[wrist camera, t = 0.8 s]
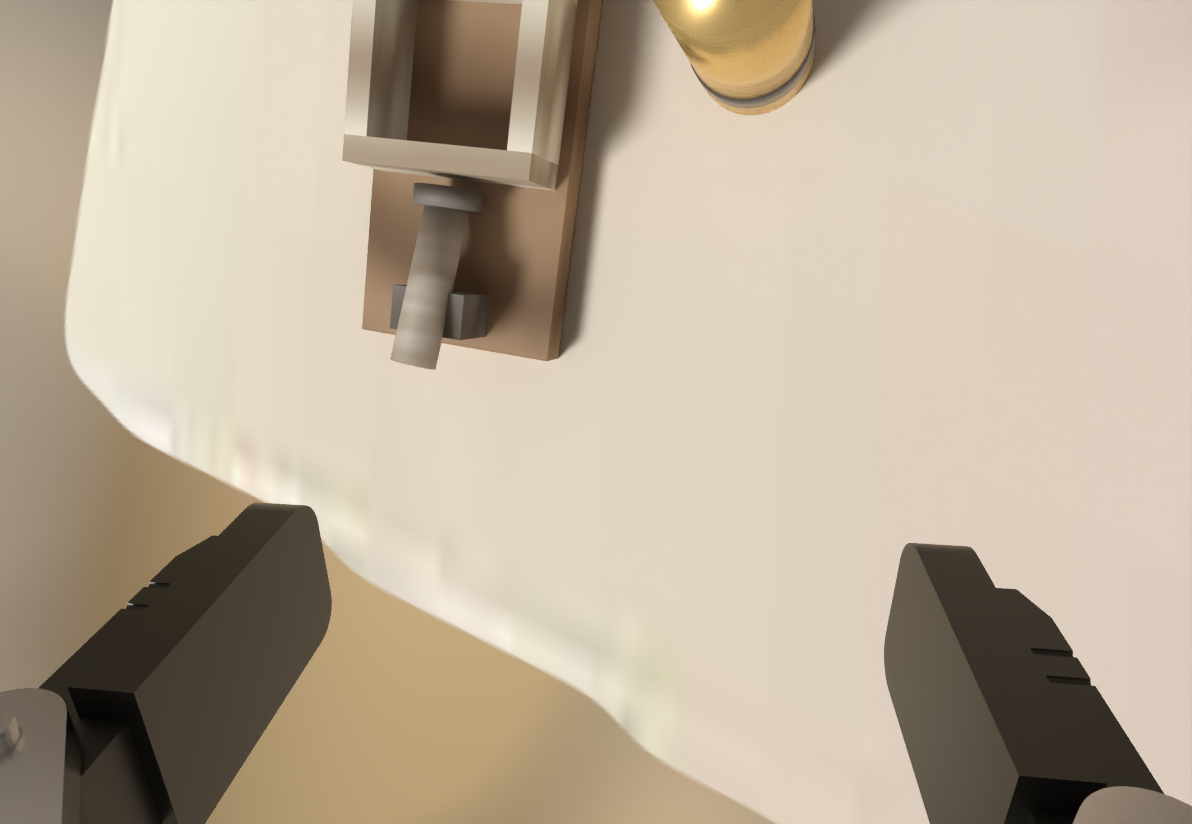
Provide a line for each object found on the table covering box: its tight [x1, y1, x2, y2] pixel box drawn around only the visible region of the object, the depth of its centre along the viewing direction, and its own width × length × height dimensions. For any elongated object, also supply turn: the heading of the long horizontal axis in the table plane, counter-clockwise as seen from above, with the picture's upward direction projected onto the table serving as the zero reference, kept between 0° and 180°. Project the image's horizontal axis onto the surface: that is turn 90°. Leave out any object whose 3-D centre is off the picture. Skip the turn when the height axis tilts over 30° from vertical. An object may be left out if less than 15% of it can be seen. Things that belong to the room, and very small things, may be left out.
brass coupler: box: [653, 0, 815, 115], centre depth 25 cm, size 4×4×10 cm
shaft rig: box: [343, 0, 603, 369], centre depth 30 cm, size 24×9×6 cm, turn 172°
